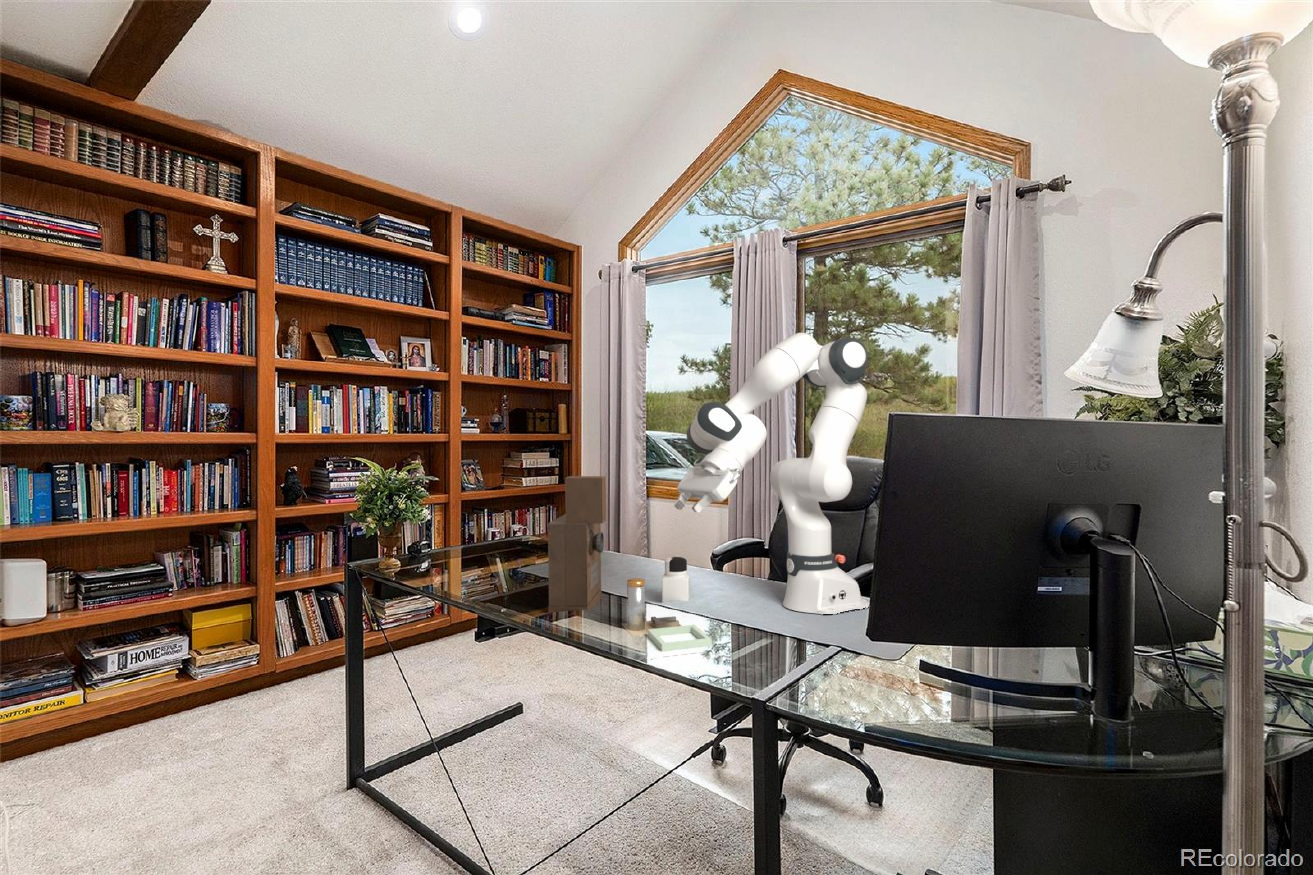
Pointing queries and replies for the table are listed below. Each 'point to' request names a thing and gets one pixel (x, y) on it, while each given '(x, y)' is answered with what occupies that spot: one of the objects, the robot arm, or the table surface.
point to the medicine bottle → (675, 580)
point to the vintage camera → (577, 546)
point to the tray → (678, 645)
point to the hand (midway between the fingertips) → (685, 509)
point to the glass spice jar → (636, 604)
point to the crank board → (654, 625)
